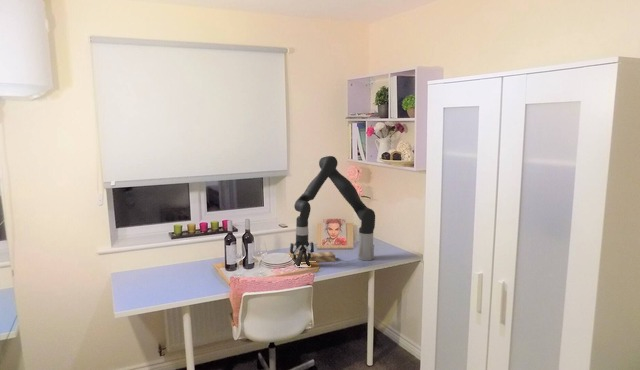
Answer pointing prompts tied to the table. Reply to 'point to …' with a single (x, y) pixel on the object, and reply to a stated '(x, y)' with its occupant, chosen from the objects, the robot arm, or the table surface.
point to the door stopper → (299, 257)
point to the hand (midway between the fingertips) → (301, 259)
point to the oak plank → (318, 257)
